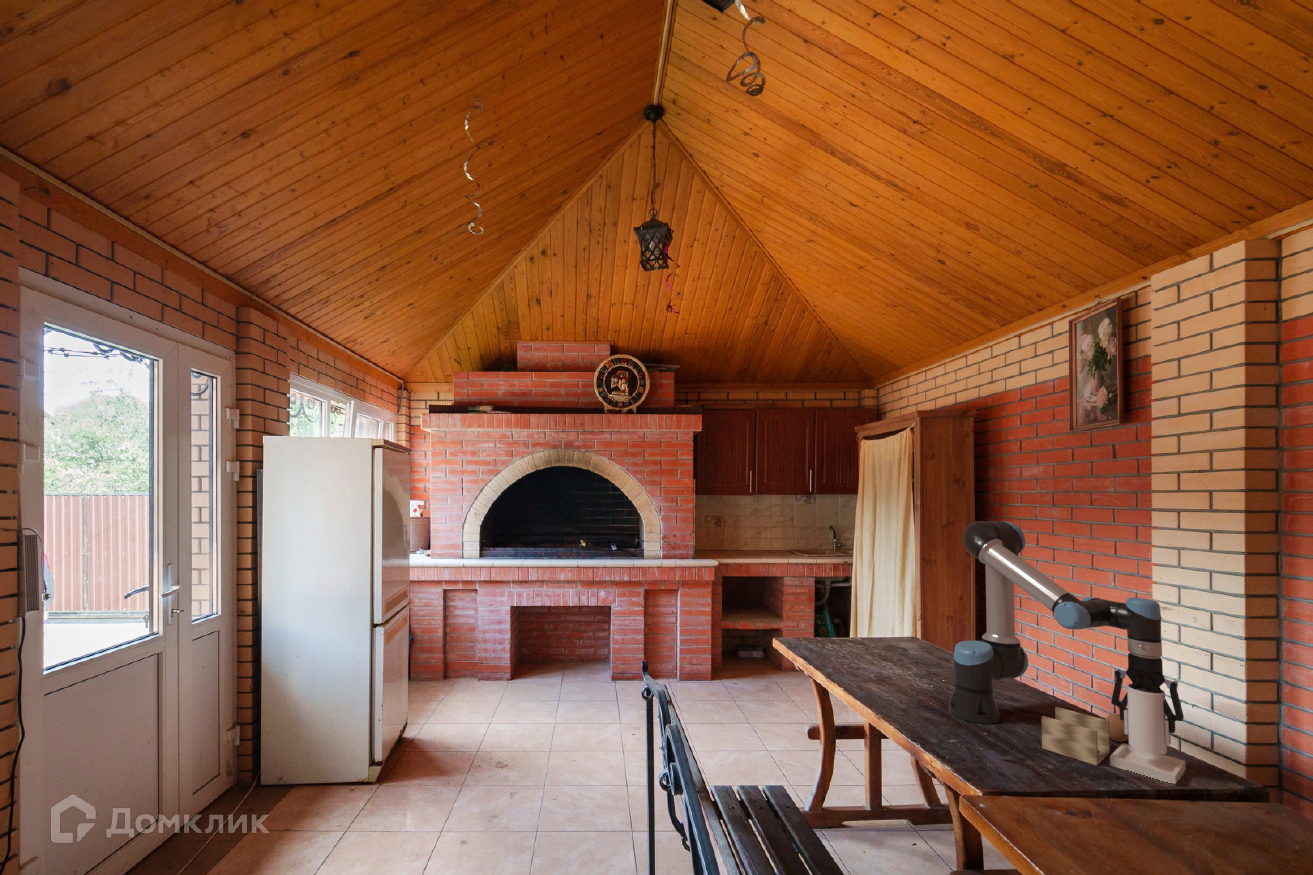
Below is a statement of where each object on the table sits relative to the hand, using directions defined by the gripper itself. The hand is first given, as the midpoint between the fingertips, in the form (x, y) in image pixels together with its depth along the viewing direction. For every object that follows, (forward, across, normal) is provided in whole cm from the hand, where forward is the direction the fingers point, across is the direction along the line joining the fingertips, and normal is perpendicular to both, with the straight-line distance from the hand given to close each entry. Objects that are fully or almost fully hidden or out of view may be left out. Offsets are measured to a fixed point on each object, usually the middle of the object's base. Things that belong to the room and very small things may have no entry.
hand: (1147, 738), depth 167 cm
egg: (+8, -10, +15) cm, 20 cm away
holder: (+8, -16, -4) cm, 18 cm away
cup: (+3, 0, 0) cm, 3 cm away
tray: (+8, 0, 0) cm, 8 cm away
